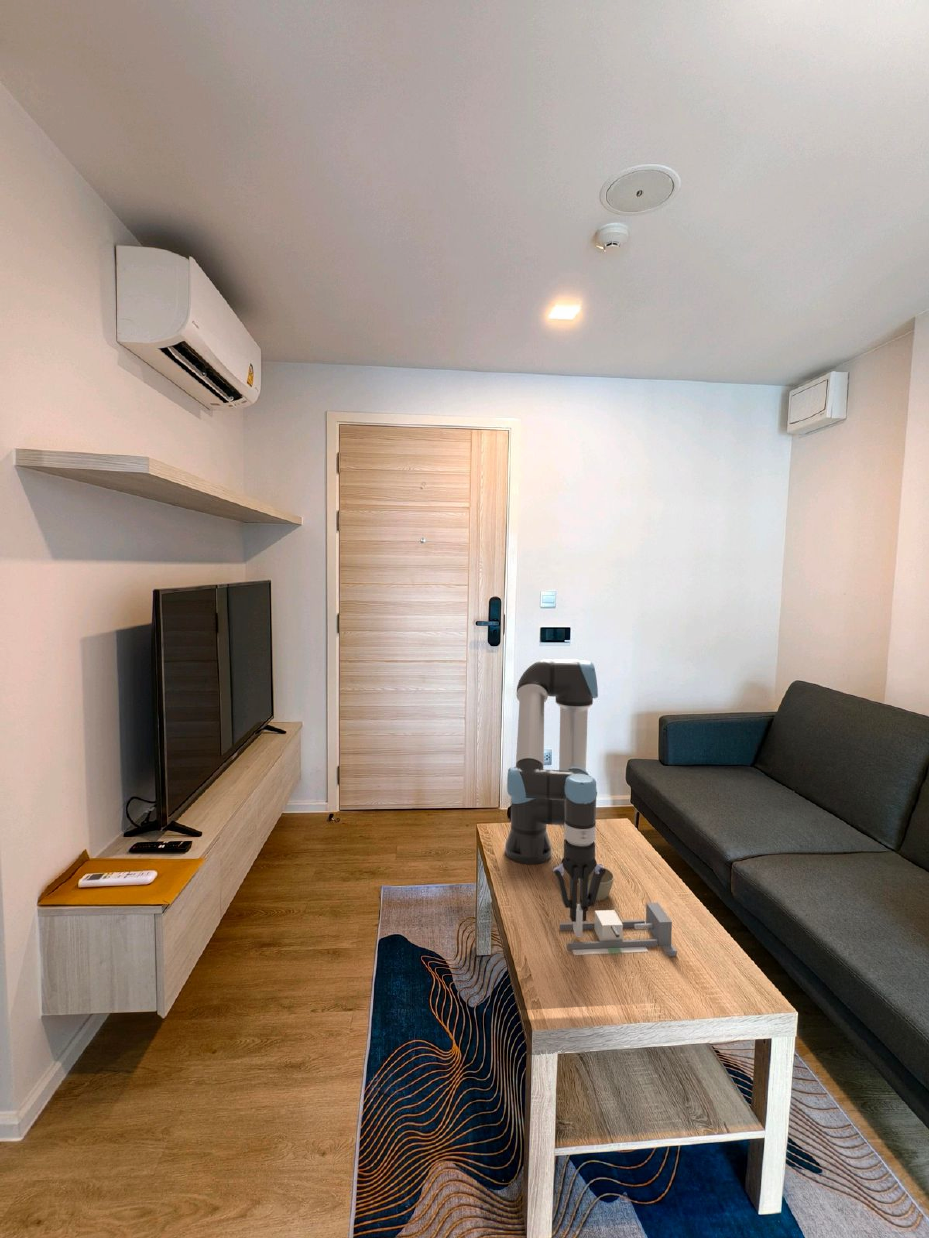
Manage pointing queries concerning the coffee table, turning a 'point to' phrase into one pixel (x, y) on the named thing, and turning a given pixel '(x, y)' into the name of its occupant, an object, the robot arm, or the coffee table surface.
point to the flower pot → (602, 884)
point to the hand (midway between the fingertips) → (577, 932)
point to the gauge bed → (654, 923)
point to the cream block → (608, 926)
